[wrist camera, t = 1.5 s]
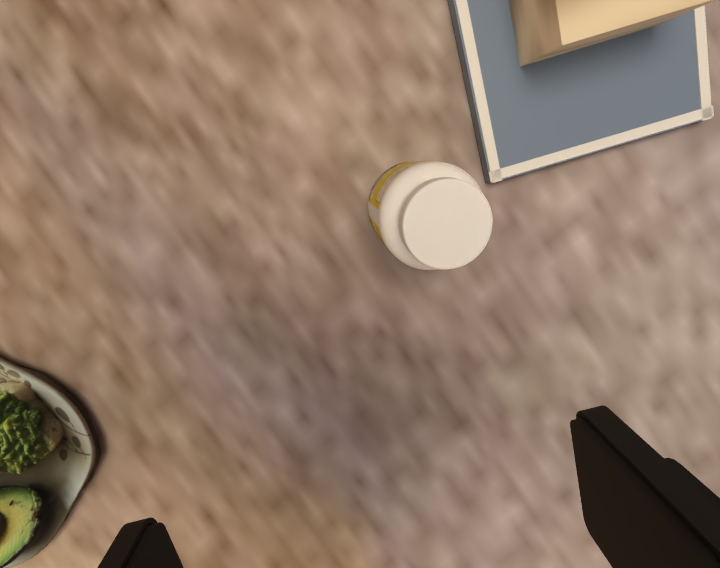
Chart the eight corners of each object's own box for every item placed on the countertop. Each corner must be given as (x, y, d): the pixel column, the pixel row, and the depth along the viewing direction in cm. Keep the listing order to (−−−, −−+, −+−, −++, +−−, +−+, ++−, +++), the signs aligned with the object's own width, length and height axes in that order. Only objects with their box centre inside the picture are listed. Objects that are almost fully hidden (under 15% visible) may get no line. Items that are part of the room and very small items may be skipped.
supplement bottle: (448, 247, 30) (502, 287, 20) (366, 246, 29) (382, 286, 20) (454, 161, 28) (515, 162, 19) (368, 160, 28) (386, 160, 19)
